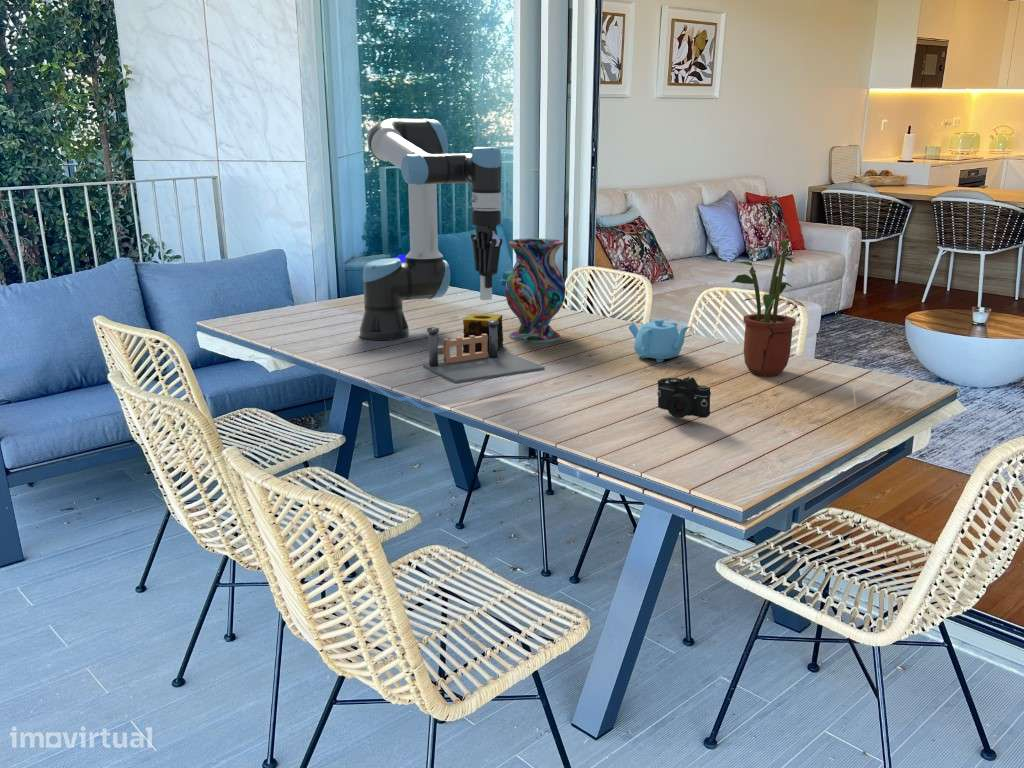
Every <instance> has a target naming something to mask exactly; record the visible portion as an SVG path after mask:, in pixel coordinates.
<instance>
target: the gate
mask: <svg viewBox="0 0 1024 768" xmlns="http://www.w3.org/2000/svg"><path fill="white" fill-rule="evenodd" d="M481 342H482V352H475V343H481ZM487 342H488V336H487V334H482V336H476V337H475V336H474V335H471V336H469V337H468V338H464V337H462V336H456V338H454V339H453V338H452V339H450V338H443V341H442V343H443V345H442V346H444V354H443V362H444V363H452V362H459V361H466V360H473V359H480V358H487V357H488V355H489V354H488V348H487ZM466 344H469V353H463V345H466ZM451 347H456V354H455V355H454V354H453V355H451V354H450V353H451V350H450V349H451Z"/></svg>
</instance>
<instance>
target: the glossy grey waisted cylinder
mask: <svg viewBox="0 0 1024 768" xmlns="http://www.w3.org/2000/svg"><path fill="white" fill-rule="evenodd" d="M487 325H489V354H488V355H489V358H497V357H498V354H499V352H498V332H497V325H499V321H496V320H490V321H487Z"/></svg>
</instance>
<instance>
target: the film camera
mask: <svg viewBox="0 0 1024 768" xmlns="http://www.w3.org/2000/svg"><path fill="white" fill-rule="evenodd" d="M711 394H712V393H711V387H709V386H707V385H703V384H702V385H699V384H698V383H697V381H696V379H695V377H693V376H691V377H690V376H689V375H688V376H686V377H684V378H679V377H669V378H668V377H665V378H664V377H663V378H660V379H659V380H658V381H657V391H656V395H657V398H658V399H657V407H658V408H659V409H661V410H665V411H667V412H668V413H669V415H671V417H674V418H675V419H683V418H685V417H688V416H689V417H690V416H693V417H697V418H701V419H704V418H705V419H707V418H708V417H710V415H711Z"/></svg>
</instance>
